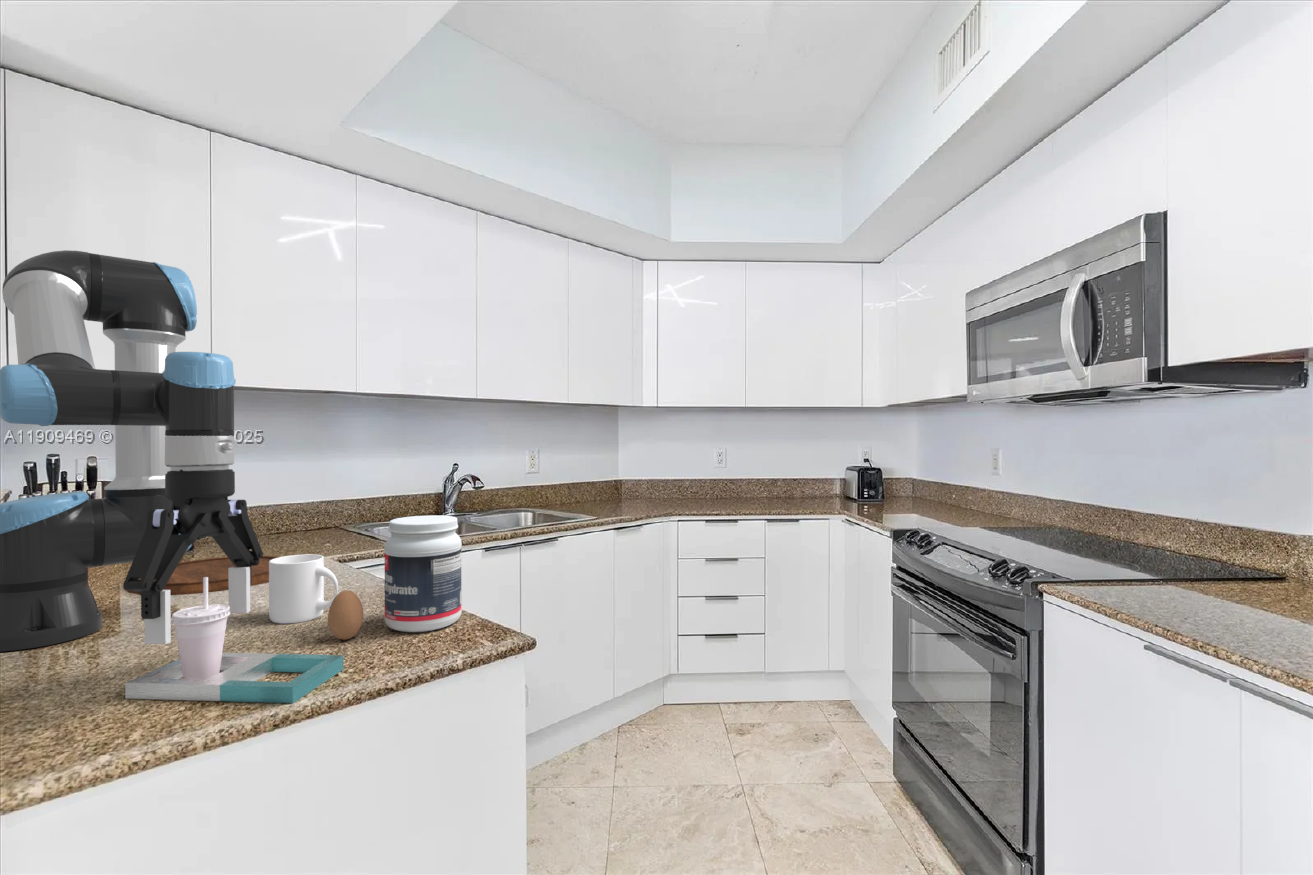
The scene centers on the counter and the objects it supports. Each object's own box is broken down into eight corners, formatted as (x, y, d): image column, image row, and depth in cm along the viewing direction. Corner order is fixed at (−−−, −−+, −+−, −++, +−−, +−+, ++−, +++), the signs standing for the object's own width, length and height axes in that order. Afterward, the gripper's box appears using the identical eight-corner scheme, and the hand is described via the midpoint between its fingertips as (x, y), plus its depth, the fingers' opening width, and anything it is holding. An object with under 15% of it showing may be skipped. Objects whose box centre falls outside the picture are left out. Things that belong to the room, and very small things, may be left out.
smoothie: (242, 676, 85) (241, 574, 85) (193, 695, 79) (193, 585, 78) (209, 670, 87) (208, 571, 87) (159, 688, 81) (159, 581, 81)
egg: (349, 632, 103) (349, 585, 103) (370, 636, 101) (370, 588, 101) (320, 641, 99) (320, 592, 99) (341, 646, 96) (341, 596, 96)
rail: (125, 698, 77) (125, 682, 77) (196, 665, 88) (196, 651, 88) (292, 703, 76) (292, 687, 76) (343, 669, 87) (343, 655, 87)
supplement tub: (367, 628, 105) (367, 521, 105) (425, 609, 117) (424, 513, 117) (422, 639, 100) (422, 526, 100) (477, 618, 111) (477, 516, 111)
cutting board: (261, 559, 166) (261, 550, 166) (319, 575, 147) (319, 564, 147) (106, 582, 140) (106, 571, 140) (152, 605, 121) (152, 592, 121)
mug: (323, 625, 107) (323, 564, 107) (257, 624, 108) (257, 563, 108) (351, 611, 116) (350, 554, 116) (290, 610, 117) (289, 553, 116)
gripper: (143, 473, 70) (145, 660, 70) (288, 464, 95) (290, 602, 95) (81, 473, 70) (83, 659, 70) (242, 464, 95) (243, 601, 95)
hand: (202, 626), depth 82 cm, fingers open, 13 cm apart
